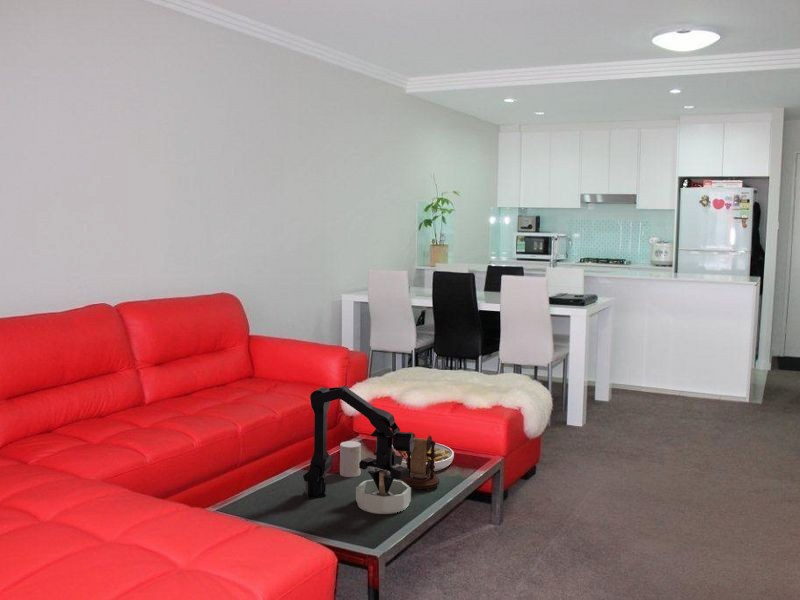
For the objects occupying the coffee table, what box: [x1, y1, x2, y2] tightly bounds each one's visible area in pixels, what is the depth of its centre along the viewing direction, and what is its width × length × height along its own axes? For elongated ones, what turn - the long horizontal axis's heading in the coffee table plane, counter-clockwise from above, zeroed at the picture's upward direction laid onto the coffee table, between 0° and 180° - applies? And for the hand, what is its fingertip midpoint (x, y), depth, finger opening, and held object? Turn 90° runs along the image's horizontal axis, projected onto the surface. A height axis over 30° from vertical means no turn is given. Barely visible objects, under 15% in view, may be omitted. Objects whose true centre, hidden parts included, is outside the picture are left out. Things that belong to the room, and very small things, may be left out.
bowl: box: [392, 442, 455, 473], centre depth 314 cm, size 30×30×8 cm
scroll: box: [400, 432, 440, 492], centre depth 286 cm, size 15×15×20 cm
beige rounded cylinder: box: [379, 471, 388, 497], centre depth 267 cm, size 3×3×9 cm
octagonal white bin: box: [355, 479, 412, 515], centre depth 268 cm, size 18×18×6 cm
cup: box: [339, 440, 362, 478], centre depth 298 cm, size 8×8×12 cm
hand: (383, 491), depth 268 cm, fingers closed on beige rounded cylinder, 3 cm apart
